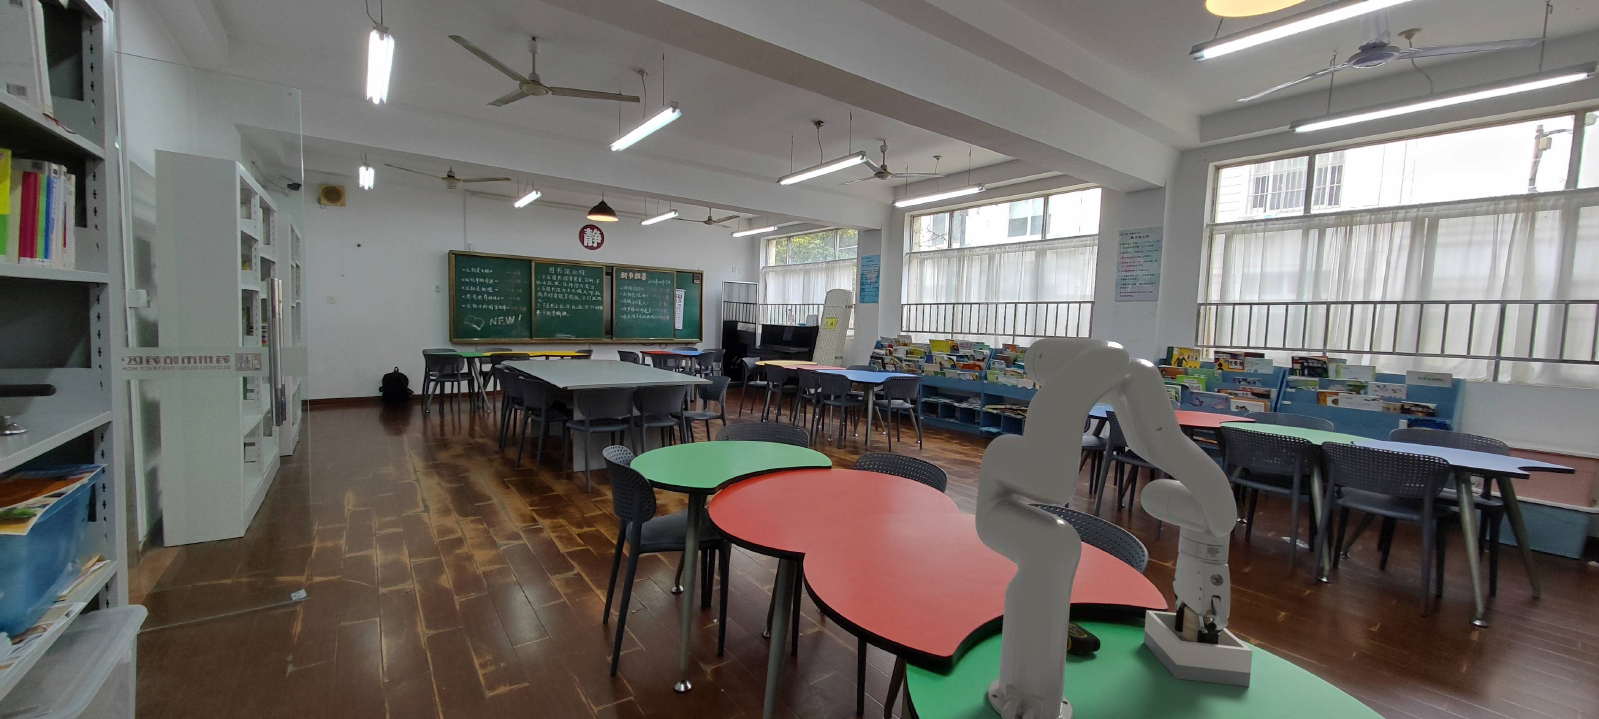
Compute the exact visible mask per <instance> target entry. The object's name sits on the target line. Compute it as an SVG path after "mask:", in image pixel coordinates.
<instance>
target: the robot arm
mask: <svg viewBox="0 0 1599 719" xmlns="http://www.w3.org/2000/svg"><path fill="white" fill-rule="evenodd" d="M1129 354H1130V353H1129V352H1128V350H1127V349H1126V348H1125V347H1124V346H1123V345H1121V344H1120V343H1117V342H1115V341H1111V340H1106V339H1097V338H1083V337H1081V338H1080V337H1078V338H1077V337H1075V338H1072V337H1071V338H1069V337H1043V338H1040V339H1038V340H1036V341H1034V342H1033V343H1031V344H1030V345H1029V347H1028V348H1027V349H1026V351H1025V354H1024V356H1023V368H1024V372H1025V373H1026V376H1028V378H1029V379H1030V380H1031V381H1032V382H1033V383H1035V384H1036V385H1037V386H1040V387H1039V389H1038V390H1037V391H1036V392H1035V394H1034V395H1033V397H1032V398H1031V400H1030V402H1029V404H1028V407H1027V409H1026V416H1025V423H1024V429H1023V434H1022V435H1019V434H1015V433H1014V434H1013V433H1007V434H1002V435H999V436H997V437H995V438H994V439H992V441H990V443H989V444H988V445H987V447H986V448H985V451H984V453H983V455H982V457H981V458H982V459H981V460H980V469H979V475H978V476H979V477H978V486H977V495H976V506H975V520H974V521H975V530H976V534H977V536H978V538H979V540H980V541H981V542H982V544H983V545H984V546H986V547H987V548H989V550H992V551H993V552H995V553H997V554H999V555H1001V556H1003V557H1005V558H1006V559H1008V560H1010V561H1011V562H1013V563H1014V564H1016V565H1017V571H1016V573H1015V574H1014V576H1013V577H1012V578H1011V579H1010V581H1009V582H1008V584H1007V586H1006V588H1005V593H1004V603H1003V605H1004V606H1003V617H1002V618H1003V620H1002V636H1001V649H1000V665H999V676H998V678H995V679H994V680H993V681H991V683H989V684H990V685H989V686H988V693H987V698H988V701H989V703H990V706H992V708H993V709H994V710H995V711H996V713H997V714H998V715H1000V716H1001V718H1002V719H1073V718H1074V710H1073V707H1072V705H1071V703H1070V701H1069V700H1068V698H1066V696H1065V695H1064V689H1065V676H1066V662H1067V638H1068V624H1069V623H1070V621H1069V620H1070V610H1071V609H1070V607H1071V600H1072V599H1071V598H1072V592H1073V586H1074V582H1075V577H1076V573H1077V570H1078V567H1079V564H1080V561H1081V557H1082V551H1083V545H1082V539H1081V537H1080V534H1079V533H1078V531H1077V530H1076V529H1075V528H1074V526H1073V525H1071V523H1069V522H1068V521H1067V520H1065V519H1064V518H1062V517H1060V516H1058V515H1057V514H1054V513H1051V512H1048V511H1046V510H1044V509H1042V508H1039V507H1037V506H1033V505H1030V504H1027V503H1025V502H1024V499H1025V498H1027V499H1029V500H1031V501H1035V502H1037V503H1040V504H1043V505H1047V506H1054V507H1059V506H1065V505H1067V504H1069V502H1071V501H1072V500H1073V498H1074V496H1075V495H1076V491H1077V487H1078V482H1079V477H1080V476H1079V475H1080V466H1081V458H1082V447H1083V439H1084V434H1085V433H1084V432H1085V426H1086V422H1087V419H1088V416H1089V415H1090V412H1091V411H1092V410H1093V408H1094V407H1095V405H1097V403H1098V404H1099V403H1101V404H1106V405H1109V406H1111V407H1112V411H1113V412H1114V415H1115V417H1116V420H1117V422H1118V424H1119V427H1120V429H1121V431H1122V434H1123V435H1122V436H1123V437H1124V440H1125V442H1126V445H1127V446H1128V449H1130V450H1131V451H1132V453H1134V454H1136V455H1137V456H1139V457H1140V458H1142V459H1143V460H1145V461H1146V462H1147V463H1149V464H1150V465H1152V466H1154V467H1156V468H1158V469H1160V470H1162V472H1165V473H1167V474H1168V475H1170V476H1171V477H1173V478H1174V479H1170V478H1169V479H1167V478H1162V479H1161V478H1159V479H1155V480H1152V481H1150V482H1149V483H1147V484H1146V485H1145V486H1144V487H1143V489H1142V491H1141V494H1140V503H1141V504H1140V505H1141V506H1142V508H1143V510H1144V511H1145V512H1146V513H1147V514H1148V515H1150V516H1152V518H1155V519H1157V520H1160V521H1163V522H1165V523H1169V524H1172V525H1174V526H1178V527H1179V535H1178V536H1179V537H1178V550H1177V552H1178V553H1177V554H1178V555H1177V560H1176V565H1175V566H1176V567H1175V572H1174V580H1173V581H1172V587H1173V591H1174V598H1175V601H1176V602H1175V606H1174V607H1175V610H1176V611H1175V613H1176V620H1175V630H1176V631H1177V632H1183V621H1184V609H1185V606H1189V607H1190V608H1191V609H1193V610H1194V611H1195V612H1196V613H1197V614H1199V620H1200V627H1201V630H1198V636H1197V643H1206V644H1215V645H1218V638H1219V635H1220V634H1221V631H1223V629H1224V628H1226V627H1228V626H1229V620H1228V619H1229V617H1230V610H1231V577H1230V576H1231V575H1230V568H1229V564H1228V561H1229V550H1230V539H1231V538H1230V537H1231V532H1232V531H1233V530H1234V528H1235V526H1236V524H1237V520H1238V510H1237V509H1238V508H1237V503H1236V499H1235V496H1234V491H1233V490H1232V487H1231V484H1230V481H1229V479H1228V477H1227V475H1226V474H1225V472H1224V471H1223V469H1222V468H1221V467H1220V466H1219V464H1217V462H1216V461H1215V460H1214V459H1213V458H1211V456H1209V455H1208V453H1207V452H1205V451H1204V449H1202V448H1201V447H1200V446H1199V445H1198V444H1197V443H1196V442H1194V440H1192V439H1190V438H1189V437H1188V436H1187V435H1186V434H1185V433H1184V432H1183V431H1182V429H1181V426H1180V424H1179V420H1178V417H1177V415H1176V412H1175V409H1174V406H1173V404H1172V401H1171V399H1170V396H1169V393H1168V389H1167V387H1166V385H1165V381H1164V379H1163V377H1162V374H1161V372H1160V370H1159V368H1158V367H1157V366H1156V364H1154V363H1153V362H1151V361H1150V360H1146V359H1143V358H1139V357H1138V358H1137V357H1130V355H1129ZM1206 611H1208V612H1211V613H1210V614H1206ZM1206 618H1212V621H1213V622H1210V623H1209V624H1207V622H1206Z"/></svg>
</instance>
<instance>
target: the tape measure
mask: <svg viewBox="0 0 1599 719" xmlns="http://www.w3.org/2000/svg"><path fill="white" fill-rule="evenodd" d="M1101 646H1102V642H1101V640H1100V638H1098V637H1097V636H1096V635H1095V634H1094V633H1092V632H1090V631H1089V630H1087V629H1086V628H1084V627H1082V626H1081V625H1079V624H1077V623H1076V622H1074V621H1071V622H1070V621H1069V624H1068V638H1067V651H1068V652H1069V653H1072V654H1076V655H1081V656H1082V655H1083V656H1085V655H1090V654H1091V653H1095V652H1098V651H1099V650H1100V649H1101ZM1067 651H1066V652H1067Z"/></svg>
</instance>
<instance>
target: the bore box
mask: <svg viewBox="0 0 1599 719" xmlns="http://www.w3.org/2000/svg"><path fill="white" fill-rule="evenodd" d="M1145 611H1146V612H1145V621H1144V635H1143V643H1144V644H1145V645H1146V647H1147V648H1148V649H1149V650H1150V651H1151V653H1153V654H1154V655H1155V657H1156V658H1157V659H1158V660H1159V661H1160V662H1161V664H1162V665H1164V667H1165V668H1166V669H1167V670H1168V671H1169V673H1170V674H1171V675H1172V676H1173V677H1174V678H1175V679H1177V680H1187V681H1193V682H1194V681H1197V682H1204V683H1213V684H1222V685H1231V686H1241V687H1246V688H1247V687H1248V688H1249V687H1250V682H1251V672H1252V671H1251V670H1252V662H1253V661H1252V660H1253V659H1252V658H1253V650H1252V649H1251V648H1250V647H1249V646H1247V645H1246V643H1244V642H1243V641H1241V639H1239V638H1238V637H1236V636H1235V635H1234V634H1233V633H1232V632H1231V631H1229V630H1228V629H1227V628H1226V627H1225V628H1224V629H1223V631H1221V634H1220V635H1219V638H1218V645H1215V644H1206V643H1196V642H1187V641H1182V632H1177V631H1176V630H1175V620H1176V612H1168V611H1158V610H1147V609H1146V610H1145ZM1210 622H1213V621H1212V618H1210Z"/></svg>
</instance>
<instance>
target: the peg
mask: <svg viewBox="0 0 1599 719" xmlns="http://www.w3.org/2000/svg"><path fill="white" fill-rule="evenodd" d="M1210 612H1211V611H1206V614H1211V613H1210ZM1206 622H1207V624H1209V623H1210V618H1206ZM1198 630H1201V627H1200V620H1199V614H1197V613H1196V612H1195V611H1194V610H1193V609H1191V608H1190V607H1189V606H1185V609H1184V621H1183V632H1182V641H1187V642H1196V643H1197V636H1198Z"/></svg>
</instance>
